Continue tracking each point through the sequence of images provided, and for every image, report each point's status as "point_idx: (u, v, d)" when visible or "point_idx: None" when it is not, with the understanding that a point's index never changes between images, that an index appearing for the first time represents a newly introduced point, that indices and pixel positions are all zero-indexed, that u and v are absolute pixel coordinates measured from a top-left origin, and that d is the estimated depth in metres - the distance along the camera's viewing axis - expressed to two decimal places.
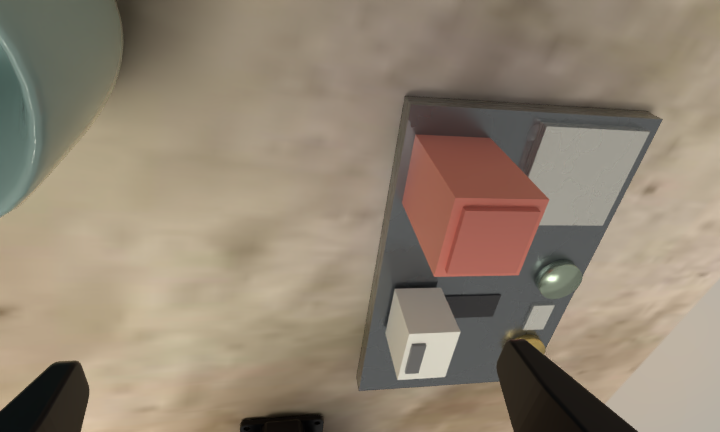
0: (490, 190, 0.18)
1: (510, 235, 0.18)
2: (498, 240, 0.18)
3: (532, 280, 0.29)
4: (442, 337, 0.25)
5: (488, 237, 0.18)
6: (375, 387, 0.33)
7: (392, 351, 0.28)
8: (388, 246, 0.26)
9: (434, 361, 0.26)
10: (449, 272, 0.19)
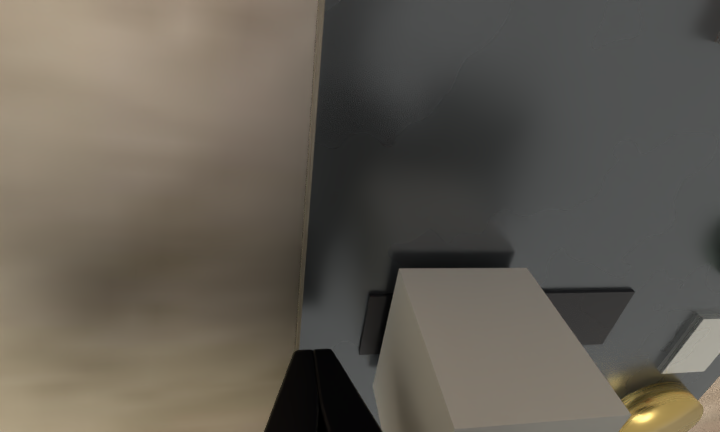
0: None
1: None
2: None
3: (718, 254, 0.11)
4: None
5: None
6: None
7: None
8: (328, 124, 0.08)
9: None
10: None
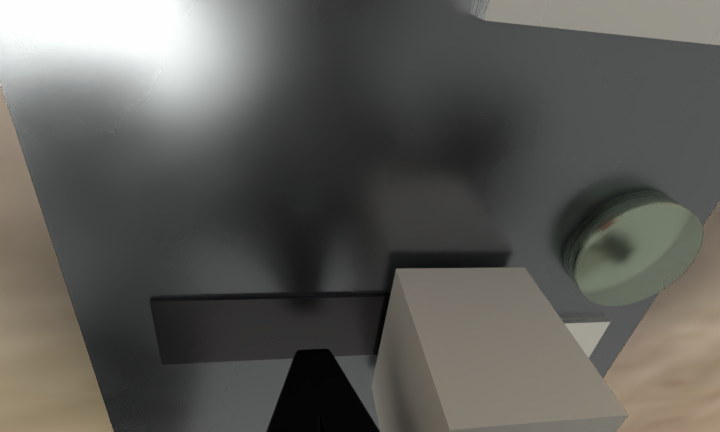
0: None
1: None
2: None
3: (555, 253, 0.10)
4: None
5: None
6: None
7: None
8: (24, 108, 0.07)
9: None
10: None
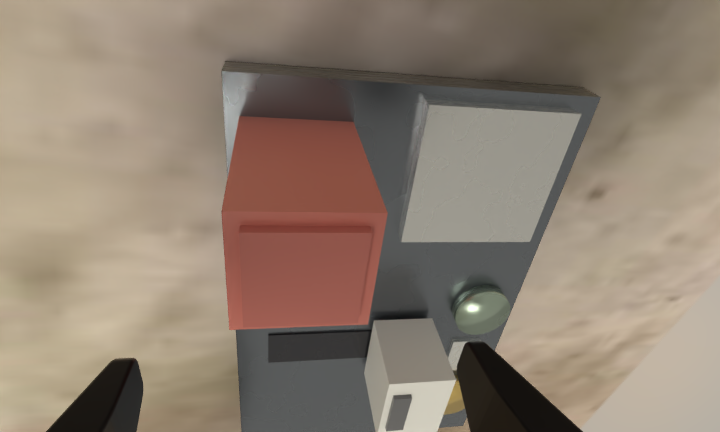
0: (294, 198, 0.11)
1: (331, 269, 0.11)
2: (312, 277, 0.11)
3: (447, 311, 0.22)
4: (433, 386, 0.19)
5: (294, 272, 0.11)
6: None
7: (371, 398, 0.22)
8: None
9: (423, 415, 0.20)
10: (246, 324, 0.12)
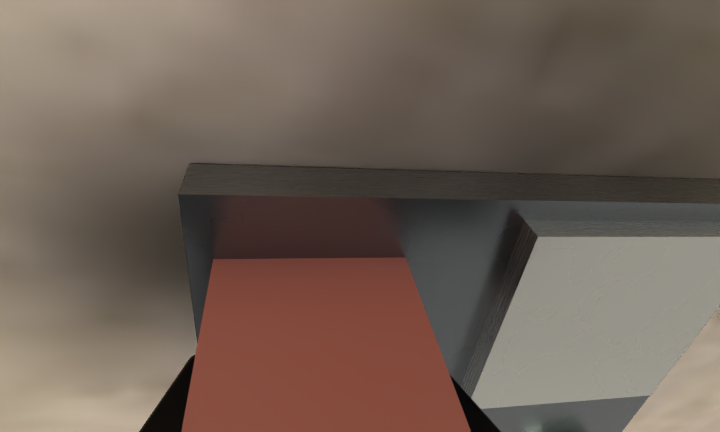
0: None
1: None
2: None
3: None
4: None
5: None
6: None
7: None
8: None
9: None
10: None
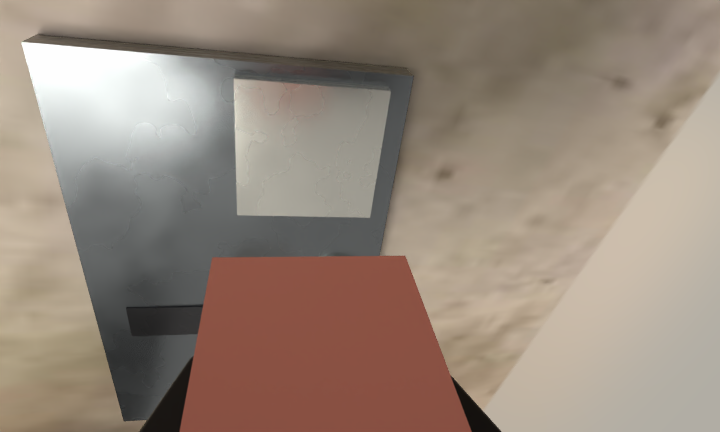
0: None
1: None
2: None
3: None
4: None
5: None
6: (145, 416, 0.27)
7: None
8: (80, 242, 0.20)
9: None
10: None
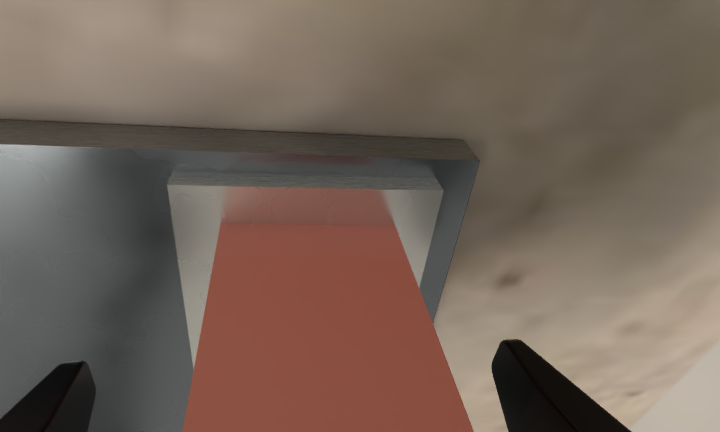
0: None
1: None
2: None
3: None
4: None
5: None
6: None
7: None
8: None
9: None
10: None
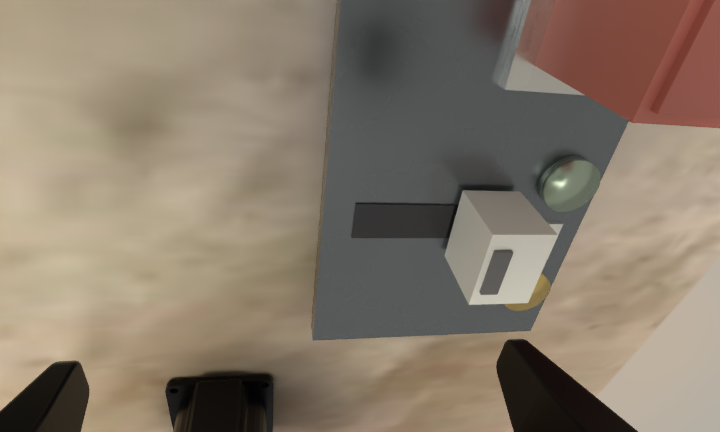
0: None
1: None
2: None
3: (533, 185, 0.22)
4: (534, 241, 0.19)
5: None
6: (334, 335, 0.26)
7: (458, 272, 0.22)
8: (336, 121, 0.19)
9: (518, 278, 0.20)
10: (661, 110, 0.13)
